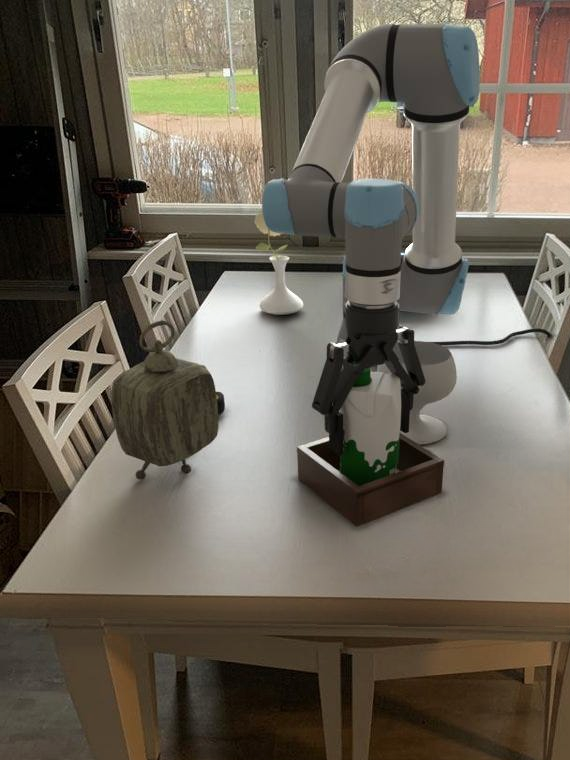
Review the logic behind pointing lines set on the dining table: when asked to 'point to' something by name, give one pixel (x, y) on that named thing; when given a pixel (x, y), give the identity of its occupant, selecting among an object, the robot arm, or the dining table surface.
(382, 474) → the soya milk
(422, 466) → the crate
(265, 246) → the flower in vase
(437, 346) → the chalice
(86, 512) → the dining table surface
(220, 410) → the tape measure
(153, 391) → the tabletop clock
